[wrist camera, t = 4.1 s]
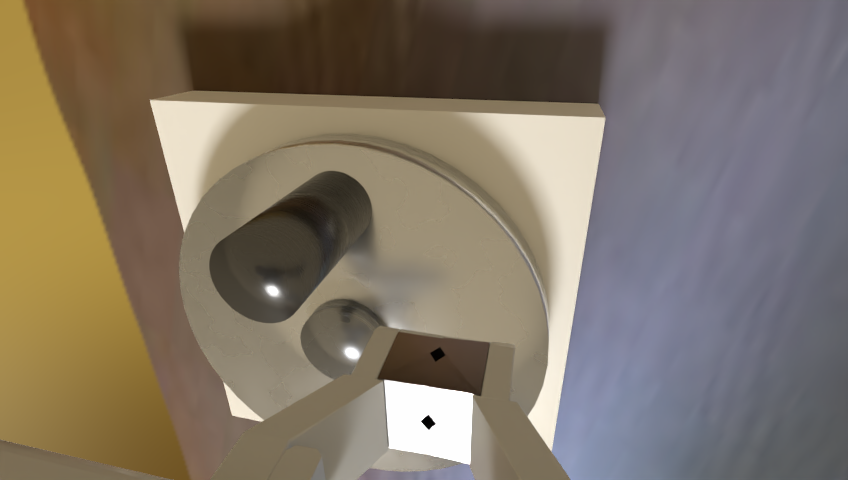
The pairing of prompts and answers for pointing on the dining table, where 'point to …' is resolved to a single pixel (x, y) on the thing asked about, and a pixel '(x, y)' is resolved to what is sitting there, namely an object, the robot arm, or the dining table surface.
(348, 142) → the handwheel
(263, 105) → the wheel base
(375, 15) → the dining table surface
